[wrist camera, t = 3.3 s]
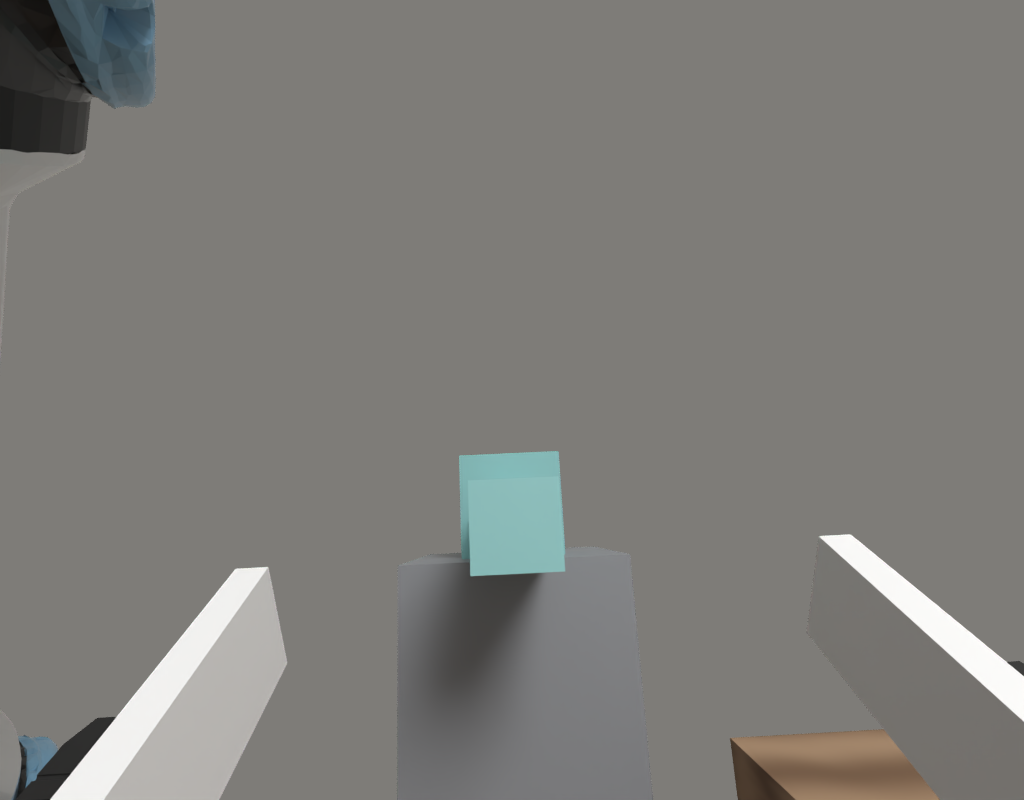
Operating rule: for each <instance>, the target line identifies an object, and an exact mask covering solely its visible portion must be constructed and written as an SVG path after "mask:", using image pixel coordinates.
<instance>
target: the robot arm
mask: <svg viewBox="0 0 1024 800" xmlns="http://www.w3.org/2000/svg"><path fill="white" fill-rule="evenodd" d="M155 81H156V78H155V0H0V361H1V344H2V328H3V311H4V294H5V277H6V261H7V245H8V227H9V212H10V207H11V205H12V203H13V201H14V199H15V197H16V196H17V194H18V193H20V192H22V191H23V190H26V189H28V188H30V187H32V186H34V185H36V184H38V183H40V182H42V181H44V180H46V179H48V178H50V177H52V176H54V175H56V174H58V173H60V172H62V171H64V170H66V169H68V168H70V167H72V166H74V165H76V164H78V163H80V162H82V161H83V159H84V154H85V149H86V140H87V130H88V121H89V110H90V102H91V99H92V97H97V98H99V99H100V100H102V101H103V102H105V103H107V104H108V105H109V106H111V107H112V108H114V109H116V108H118V107H124V106H129V107H145V106H147V105H148V104H150V103H151V102H152V101H153V99H154V97H155ZM807 634H808V635H809V636H810V638H811V639H812V640H813V641H814V643H815V644H816V645H817V646H818V648H819V649H820V650H821V651H822V653H823V654H824V655H825V656H826V658H827V659H828V660H829V661H830V663H831V664H832V665H833V666H834V668H835V669H836V670H837V671H838V673H839V674H840V675H841V676H842V678H843V679H844V680H845V681H846V683H847V684H848V685H849V686H850V688H851V689H852V690H853V691H854V693H855V694H856V695H857V696H858V698H859V699H860V700H861V701H862V702H863V704H864V705H865V706H866V708H867V709H868V710H869V711H870V713H871V714H872V715H873V716H874V718H875V719H876V720H877V721H878V723H879V724H880V725H881V727H882V728H883V729H884V730H885V732H886V733H887V734H888V735H889V737H890V738H891V739H892V740H893V742H894V743H895V744H896V745H897V747H898V748H899V749H900V750H901V752H902V753H903V754H904V755H905V757H906V758H907V759H908V760H909V762H910V763H911V764H912V765H913V767H914V768H915V769H916V770H917V772H918V773H919V774H920V775H921V777H922V778H923V779H924V780H925V782H926V783H927V784H928V785H929V787H930V788H931V789H932V790H933V792H934V793H935V794H936V795H937V797H938V798H939V799H940V800H1024V664H1023V663H1022V662H1020V661H1016V662H1006V661H1004V660H1003V659H1002V658H1001V657H999V656H998V655H997V654H996V653H995V652H993V651H992V650H991V649H990V648H989V647H987V646H986V645H985V644H984V643H982V642H981V641H980V640H979V639H978V638H976V637H975V636H974V635H973V634H971V633H970V632H969V631H968V630H967V629H965V628H964V627H963V626H962V625H961V624H959V623H958V622H957V621H955V620H954V619H953V618H952V617H951V616H950V615H948V614H947V613H946V612H945V611H943V610H942V609H941V608H940V607H939V606H937V605H936V604H935V603H934V602H932V601H931V600H930V599H929V598H927V597H926V596H925V595H924V594H923V593H921V592H920V591H919V590H918V589H916V588H915V587H914V586H913V585H912V584H910V583H909V582H908V581H906V580H905V579H904V578H903V577H902V576H901V575H899V574H898V573H897V572H896V571H895V570H893V569H892V568H891V567H890V566H888V565H887V564H886V563H885V562H884V561H882V560H881V559H880V558H879V557H877V556H876V555H875V554H874V553H873V552H871V551H870V550H869V549H867V548H866V547H865V546H864V545H863V544H862V543H860V542H859V541H858V540H857V539H855V538H854V537H853V536H852V535H832V536H819V539H818V547H817V555H816V563H815V571H814V578H813V587H812V594H811V602H810V610H809V618H808V625H807ZM286 665H287V660H286V654H285V649H284V644H283V639H282V634H281V629H280V624H279V619H278V614H277V608H276V603H275V598H274V593H273V588H272V583H271V578H270V573H269V568H268V567H261V568H243V569H235V570H234V572H233V573H232V574H231V575H230V577H229V578H228V579H227V580H226V582H225V583H224V584H223V585H222V587H221V588H220V589H219V590H218V592H217V593H216V594H215V595H214V597H213V598H212V599H211V600H210V602H209V603H208V604H207V605H206V606H205V608H204V609H203V610H202V611H201V613H200V614H199V615H198V617H197V618H196V619H195V620H194V621H193V623H192V624H191V625H190V626H189V628H188V629H187V630H186V631H185V633H184V634H183V635H182V636H181V638H180V639H179V640H178V641H177V643H176V644H175V645H174V647H173V648H172V649H171V650H170V651H169V653H168V654H167V655H166V656H165V658H164V659H163V660H162V661H161V663H160V664H159V665H158V666H157V667H156V669H155V670H154V671H153V672H152V674H151V675H150V676H149V677H148V679H147V680H146V681H145V682H144V684H143V685H142V686H141V687H140V689H139V690H138V691H137V692H136V694H135V695H134V696H133V697H132V699H131V700H130V701H129V702H128V703H127V705H126V706H125V707H124V709H123V710H122V711H121V712H120V713H119V715H118V716H117V717H106V718H97V719H95V720H94V721H93V722H92V723H90V724H89V725H88V726H87V727H85V728H84V729H83V730H82V731H80V732H79V733H77V734H76V735H75V736H74V737H72V738H71V739H70V740H69V741H67V742H66V743H65V744H64V745H62V747H61V748H60V749H59V750H58V748H57V745H56V744H55V743H54V742H53V741H52V740H50V739H49V738H48V737H34V738H30V737H27V736H18V734H17V731H16V729H15V727H14V726H13V724H12V722H11V720H10V719H9V718H8V717H7V716H6V715H5V714H4V713H3V712H2V711H1V710H0V800H219V799H220V797H221V795H222V793H223V790H224V789H225V787H226V785H227V782H228V781H229V779H230V777H231V775H232V773H233V771H234V769H235V767H236V765H237V763H238V761H239V759H240V757H241V755H242V753H243V751H244V749H245V747H246V745H247V743H248V741H249V739H250V737H251V735H252V733H253V731H254V729H255V727H256V725H257V723H258V720H259V719H260V717H261V715H262V713H263V711H264V709H265V707H266V705H267V703H268V701H269V699H270V697H271V695H272V693H273V691H274V689H275V687H276V685H277V683H278V681H279V679H280V677H281V675H282V673H283V671H284V669H285V666H286Z"/></svg>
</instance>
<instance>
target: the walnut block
mask: <svg viewBox="0 0 1024 800" xmlns="http://www.w3.org/2000/svg"><path fill="white" fill-rule="evenodd" d="M730 741H731V748H732V756H733V764H734V772H735V780H736V788H737V796H738V800H940V799H939V798H938V797H937V795H936V794H935V793H934V792H933V790H932V789H931V788H930V787H929V785H928V784H927V783H926V782H925V780H924V779H923V778H922V777H921V775H920V774H919V773H918V772H917V770H916V769H915V768H914V767H913V765H912V764H911V763H910V762H909V760H908V759H907V758H906V757H905V755H904V754H903V753H902V752H901V750H900V749H899V748H898V747H897V745H896V744H895V743H894V742H893V740H892V739H891V738H890V737H889V735H888V734H887V733H886V732H885V730H884V729H881V730H864V731H847V732H829V733H811V734H793V735H776V736H758V737H741V738H730Z"/></svg>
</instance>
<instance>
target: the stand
mask: <svg viewBox="0 0 1024 800" xmlns="http://www.w3.org/2000/svg"><path fill="white" fill-rule="evenodd" d="M564 560H565V572H545V573H525V574H505V575H485V576H470V559H462V553H451V554H430V555H427V556H425V557H422V558H419V559H416V560H413V561H410V562H407V563H404V564H401V565H399V566H398V715H397V717H398V718H397V719H398V721H397V723H398V726H397V730H398V732H397V735H398V736H397V737H398V738H397V800H653V795H652V784H651V773H650V763H649V752H648V741H647V731H646V721H645V709H644V698H643V688H642V677H641V666H640V657H639V645H638V634H637V624H636V613H635V602H634V592H633V581H632V571H631V560H630V554H626V553H621V552H616V551H612V550H607V549H602V548H598V547H576V548H575V547H574V548H565V554H564Z"/></svg>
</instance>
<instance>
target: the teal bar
mask: <svg viewBox="0 0 1024 800" xmlns="http://www.w3.org/2000/svg"><path fill="white" fill-rule="evenodd" d="M459 463H460V464H459V465H460V508H461V548H462V549H461V550H462V559H470V576H485V575H505V574H525V573H545V572H565V560H564V554H565V543H564V527H563V512H562V498H561V483H560V467H559V453H558V451H552V452H529V453H507V454H486V455H463V456H459Z"/></svg>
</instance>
